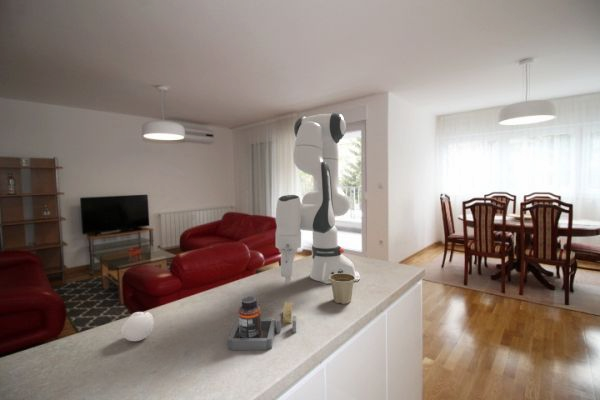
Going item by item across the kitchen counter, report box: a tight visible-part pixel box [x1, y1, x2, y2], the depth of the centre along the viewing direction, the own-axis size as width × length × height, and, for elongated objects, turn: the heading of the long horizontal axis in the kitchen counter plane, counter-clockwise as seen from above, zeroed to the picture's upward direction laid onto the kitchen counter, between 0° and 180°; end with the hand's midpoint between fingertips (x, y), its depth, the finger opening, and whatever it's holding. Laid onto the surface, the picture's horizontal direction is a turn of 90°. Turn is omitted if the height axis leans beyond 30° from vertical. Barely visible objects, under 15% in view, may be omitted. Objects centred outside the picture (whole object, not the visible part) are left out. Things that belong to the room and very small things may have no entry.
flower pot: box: [329, 273, 355, 305], centre depth 101 cm, size 9×9×9 cm
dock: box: [227, 315, 297, 351], centre depth 77 cm, size 18×11×4 cm, turn 89°
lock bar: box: [282, 301, 293, 324], centre depth 89 cm, size 8×2×3 cm, turn 179°
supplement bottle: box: [238, 296, 262, 338], centre depth 77 cm, size 6×6×11 cm
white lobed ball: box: [120, 311, 155, 342], centre depth 78 cm, size 8×8×8 cm
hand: (287, 281), depth 97 cm, fingers closed
